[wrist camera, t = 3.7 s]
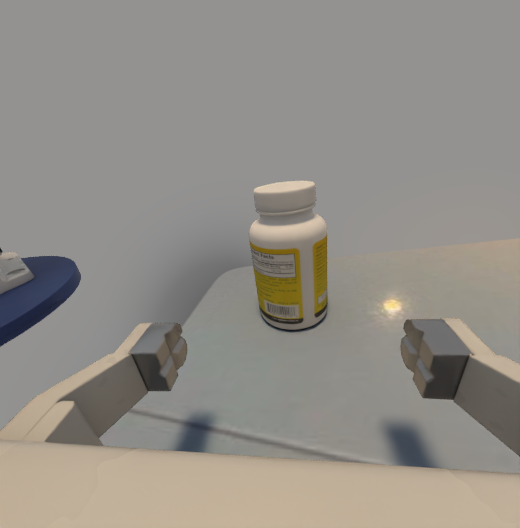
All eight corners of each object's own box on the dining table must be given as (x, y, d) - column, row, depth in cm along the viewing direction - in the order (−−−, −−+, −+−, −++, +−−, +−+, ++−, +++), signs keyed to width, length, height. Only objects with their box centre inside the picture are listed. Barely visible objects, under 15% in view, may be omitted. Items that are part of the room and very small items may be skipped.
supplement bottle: (307, 286, 23) (304, 176, 19) (341, 320, 18) (346, 183, 14) (252, 300, 22) (235, 187, 18) (272, 341, 17) (255, 198, 13)
